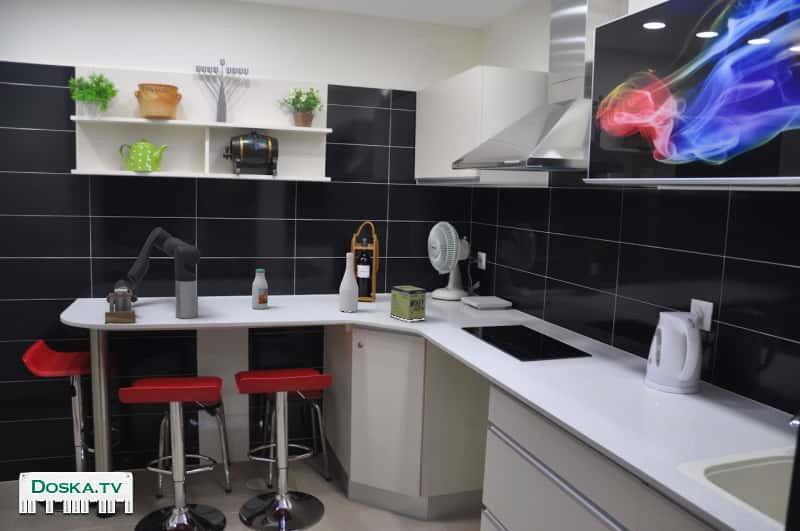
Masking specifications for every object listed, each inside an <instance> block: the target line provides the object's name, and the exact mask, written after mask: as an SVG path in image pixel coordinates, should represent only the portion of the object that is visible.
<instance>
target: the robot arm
mask: <svg viewBox="0 0 800 531" xmlns="http://www.w3.org/2000/svg"><path fill="white" fill-rule="evenodd" d="M153 246H155V247H156V248H157V249H159V250H160V251H162V252H164V253H166V254H167V255H168V256H170V257H172V258H174V274H175V318H178V319H194V318H196V317H199V296H198V295H197V274H196V273H193V272H189V271H187V270H186V269H185V267H189V266H190V267H191V266H197V265H198V264H199V263H200V262H201V257H202V256H201V251H200V250H199V248H198V247H197V246H195V245H191V244H188V243H187V242H185V241H183V240H181V239H179V238H177V237H173V236H172V235H171V234H170V233H168V232H167V231H166V230H165V229H164V228H162V227H161V226H158V227H155V228H154V229H153V230H151V233H150V234H149V235H148V237H147V238H146V240H145V243H144V245H143V247H142V249H141V251H140V253H139V255H138V257H137V259H136V261H135V262H134V263H133V265H132V267H131V268H130V270H128V272H127V275H126V276H127V277H128V278H129V280H130V281H131V282H132V284H131V283H130V282H128V281H126V280H123V279H121V280H118V281H116V283H115V284H114V287H113V292H114V291H115V289H128V291H127V293H131V304H134V303H136V302H138V301H139V295H138V294H137V291H138V289H139V286H140V283H141V281H142V279H143V278H144V276H145V275H146V274H147V272H148V270H149V267H150V259H151V258H150V257H151V256H150V255H151V250H152V247H153ZM105 297H106V298H105V299H106V300H105V301H106V303H108V304H109V294H108V295H107V294H106V296H105ZM126 301H127V300H126ZM114 305H115V293H114Z"/></svg>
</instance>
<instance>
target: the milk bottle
mask: <svg viewBox="0 0 800 531" xmlns="http://www.w3.org/2000/svg"><path fill="white" fill-rule="evenodd" d="M265 273H266V271H265V268H257V269H255V278H254V280H253V282H252V287H251V288H252V290H251V307H252V309H255V310H266V309H268V299H269V298H268V296H269V293H268V290H269V287H268V282H267V280H266V276H265Z"/></svg>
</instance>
